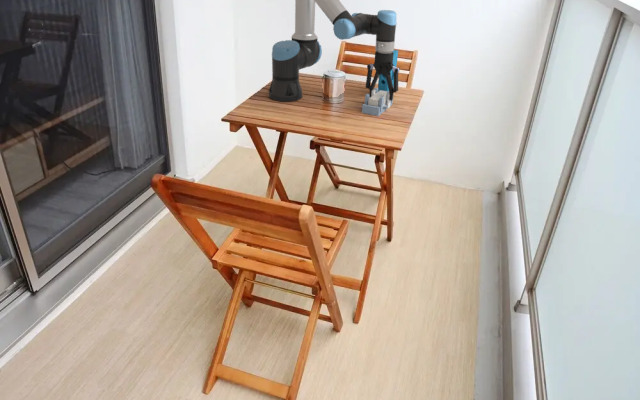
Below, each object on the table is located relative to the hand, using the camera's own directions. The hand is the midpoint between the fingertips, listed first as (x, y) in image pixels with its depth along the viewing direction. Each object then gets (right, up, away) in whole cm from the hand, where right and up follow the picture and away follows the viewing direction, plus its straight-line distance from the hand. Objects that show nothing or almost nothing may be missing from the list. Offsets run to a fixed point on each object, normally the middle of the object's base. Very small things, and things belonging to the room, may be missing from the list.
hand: (380, 106), depth 207 cm
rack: (-1, -1, +1) cm, 2 cm away
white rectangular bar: (-1, 0, +1) cm, 1 cm away
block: (+4, +7, +16) cm, 18 cm away
